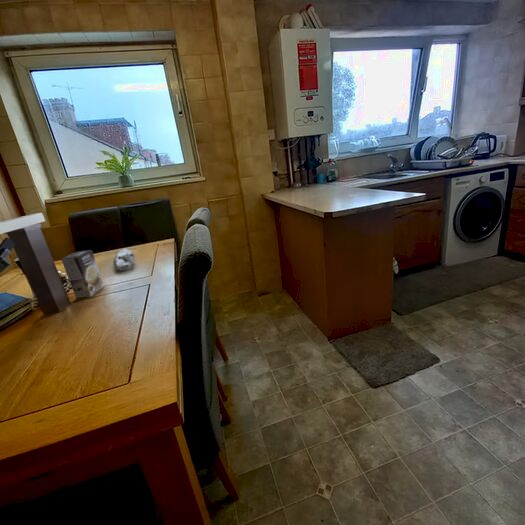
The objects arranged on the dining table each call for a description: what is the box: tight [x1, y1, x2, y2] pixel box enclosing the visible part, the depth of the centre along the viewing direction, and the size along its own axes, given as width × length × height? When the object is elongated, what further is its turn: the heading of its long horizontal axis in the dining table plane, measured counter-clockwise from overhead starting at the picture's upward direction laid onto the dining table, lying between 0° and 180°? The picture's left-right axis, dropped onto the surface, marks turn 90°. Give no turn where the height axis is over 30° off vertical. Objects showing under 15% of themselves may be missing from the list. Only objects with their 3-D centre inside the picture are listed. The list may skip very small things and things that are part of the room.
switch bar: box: [0, 212, 46, 235], centre depth 86 cm, size 3×20×3 cm, turn 0°
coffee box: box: [60, 249, 105, 299], centre depth 107 cm, size 9×6×16 cm
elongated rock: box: [113, 248, 135, 271], centre depth 143 cm, size 35×5×10 cm
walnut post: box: [3, 223, 72, 315], centre depth 94 cm, size 7×7×30 cm
